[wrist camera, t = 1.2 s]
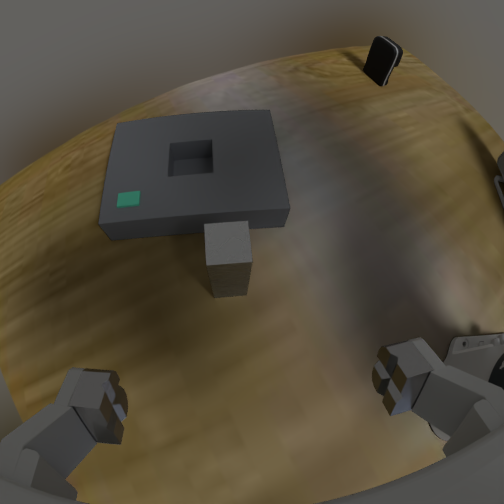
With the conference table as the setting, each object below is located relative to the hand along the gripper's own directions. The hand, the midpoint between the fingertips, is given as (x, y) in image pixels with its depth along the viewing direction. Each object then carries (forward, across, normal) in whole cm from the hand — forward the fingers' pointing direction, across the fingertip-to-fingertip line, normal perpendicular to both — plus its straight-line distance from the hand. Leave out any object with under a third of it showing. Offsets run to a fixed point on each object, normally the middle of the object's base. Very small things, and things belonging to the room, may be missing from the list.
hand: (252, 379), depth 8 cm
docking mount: (+39, +4, 0) cm, 39 cm away
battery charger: (+60, -37, -21) cm, 73 cm away
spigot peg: (+28, 0, +11) cm, 30 cm away
